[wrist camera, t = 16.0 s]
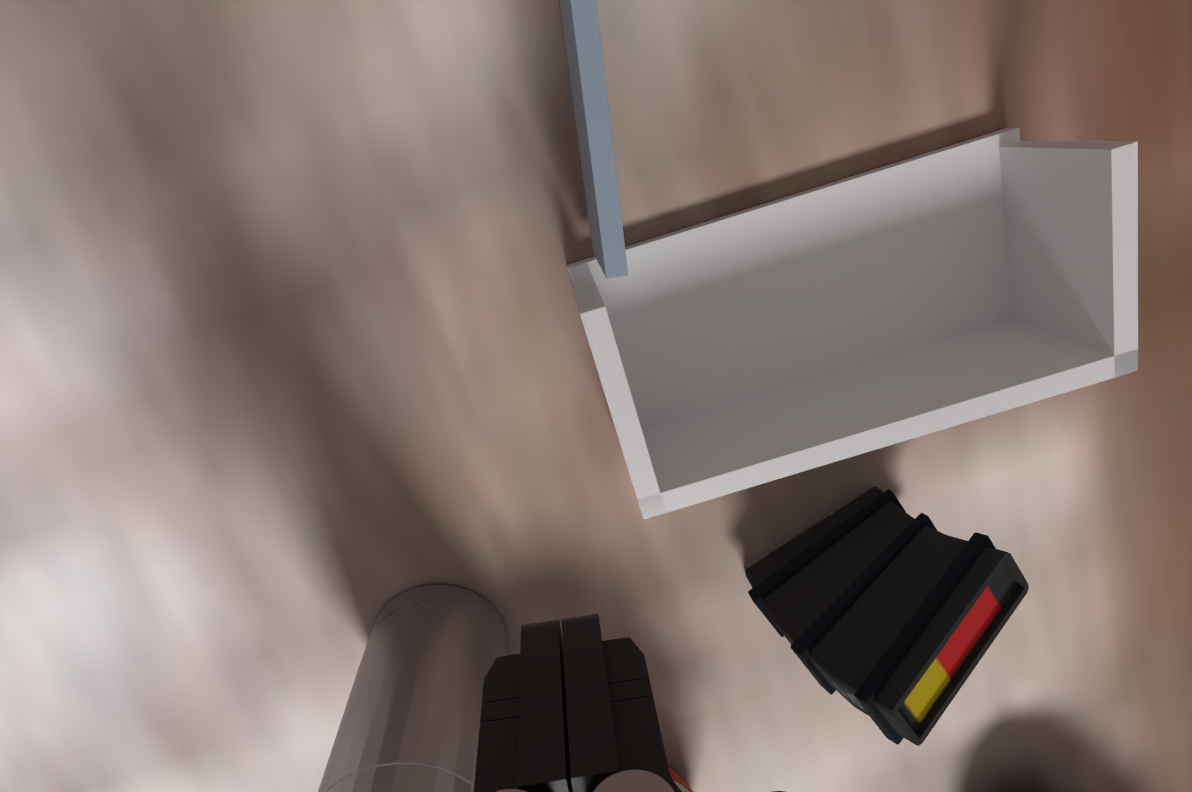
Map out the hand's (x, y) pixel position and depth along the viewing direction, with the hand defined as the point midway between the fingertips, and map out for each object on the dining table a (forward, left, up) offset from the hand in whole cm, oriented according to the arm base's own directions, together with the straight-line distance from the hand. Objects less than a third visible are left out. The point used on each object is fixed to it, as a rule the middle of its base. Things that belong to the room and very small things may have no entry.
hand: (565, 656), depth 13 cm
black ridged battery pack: (-21, -14, -29) cm, 39 cm away
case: (-4, -15, -29) cm, 33 cm away
